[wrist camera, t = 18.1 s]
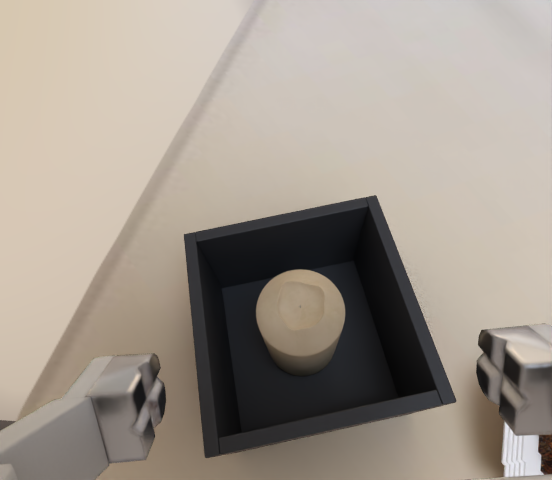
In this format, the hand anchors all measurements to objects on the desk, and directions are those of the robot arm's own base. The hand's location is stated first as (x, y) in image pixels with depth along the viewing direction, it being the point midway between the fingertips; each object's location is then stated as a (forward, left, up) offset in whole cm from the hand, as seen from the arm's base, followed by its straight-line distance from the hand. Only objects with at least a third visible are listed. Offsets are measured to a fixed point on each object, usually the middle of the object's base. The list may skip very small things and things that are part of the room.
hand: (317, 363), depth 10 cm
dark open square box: (+1, +5, -22) cm, 23 cm away
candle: (+1, +5, -22) cm, 22 cm away
